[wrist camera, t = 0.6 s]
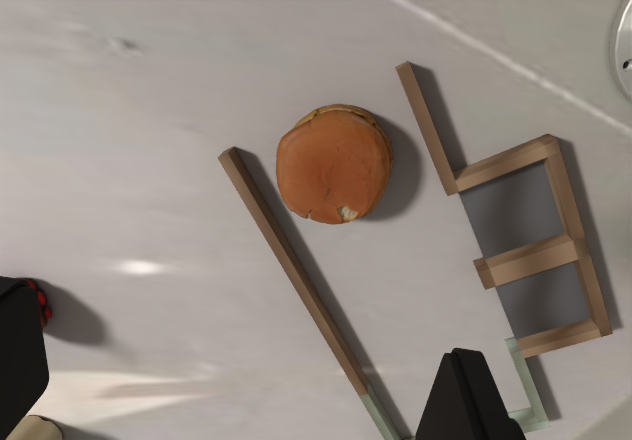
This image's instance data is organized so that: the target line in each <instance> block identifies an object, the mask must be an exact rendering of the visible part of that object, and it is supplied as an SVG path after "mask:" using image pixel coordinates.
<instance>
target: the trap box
mask: <svg viewBox="0 0 632 440" xmlns="http://www.w3.org/2000/svg"><path fill="white" fill-rule="evenodd" d="M395 68H396V70H397V73H398V75H399V78H400V80H401V83H402V85H403V88H404V90H405V93H406V95H407V98H408V100H409V103H410V105H411V108H412V110H413V113H414V115H415V118H416V120H417V123H418V125H419V128H420V130H421V133H422V135H423V138H424V140H425V143H426V145H427V148H428V150H429V153H430V155H431V158H432V160H433V162H434V165H435V167H436V170H437V172H438V175H439V177H440V180H441V182H442V185H443V187H444V190H445V192H446V194H447V196H449V195H452V194H455V193H457V192H458V193H459V195H460V198H461V200H462V203H463V205H464V208H465V211H466V213H467V216H468V218H469V221H470V223H471V226H472V228H473V231H474V234H475V236H476V239H477V241H478V244H479V246H480V249H481V252H482V254H483V258H480V259H477V260H474V261H473V262H474V265H475V267H476V270H477V272H478V275H479V277H480V279H481V282H482V284H483V286H484V288H485V290H486V289H489V288H492V287H495V288H496V290H497V293H498V295H499V298H500V300H501V303H502V306H503V308H504V311H505V313H506V316H507V318H508V321H509V324H510V326H511V329H512V331H513V334H514V336H515V337H513V338H510V339H506V340H505V342H506V344H507V347H508V349H509V352H510V354H511V357H512V359H513V362H514V364H515V367H516V369H517V372H518V374H519V377H520V379H521V382H522V384H523V387H524V389H525V392H526V394H527V397H528V399H529V402H530V404H531V408H527V409H523V410H519V411H515V412H511V413H508V415H509V418H513V419H515V420H516V421H517V422H518V424H519V425H520V427H521V429H522V431H523V433H527V432H531V431H536V430H540V429H544V428H549V427H551V426H550V423H549V421H548V418H547V416H546V413H545V410H544V408H543V405H542V403H541V400H540V398H539V395H538V392H537V390H536V387H535V385H534V382H533V379H532V377H531V374H530V372H529V369H528V367H527V364H526V361H525V359H524V358H527V357H531V356H534V355H538V354H541V353H545V352H549V351H552V350H556V349H560V348H563V347H567V346H570V345H574V344H578V343H581V342H585V341H588V340H592V339H596V338H599V337H603V336H606V335H610V334H613V333H612V329H611V326H610V322H609V319H608V315H607V312H606V308H605V305H604V301H603V298H602V294H601V291H600V287H599V283H598V280H597V276H596V273H595V269H594V266H593V262H592V259H591V255H590V252H589V248H588V245H587V241H586V238H585V234H584V231H583V227H582V224H581V220H580V217H579V213H578V209H577V206H576V202H575V199H574V195H573V192H572V188H571V185H570V181H569V178H568V174H567V171H566V167H565V164H564V160H563V157H562V153H561V150H560V146H559V143H558V140H557V139H555V138H554V137H552V136H551V135H549V134H546V135H543V136H541V137H538V138H536V139H533V140H531V141H529V142H526V143H524V144H521V145H519V146H516V147H514V148H511V149H509V150H506V151H504V152H501V153H499V154H497V155H494V156H492V157H489V158H487V159H484V160H482V161H479V162H477V163H474V164H472V165H470V166H467V167H465V168H462V169H460V170H457V171H455V172H452V171H451V168H450V166H449V163H448V160H447V158H446V155H445V153H444V150H443V148H442V145H441V142H440V140H439V137H438V135H437V132H436V130H435V127H434V124H433V122H432V119H431V117H430V114H429V112H428V109H427V106H426V104H425V101H424V99H423V96H422V93H421V91H420V88H419V86H418V83H417V81H416V78H415V75H414V73H413V70H412V68H411V65H410V63H409V62H408V61H407V62H405V63H403V64H401V65H399V66H397V67H395ZM218 159H219V161H220V163H221V164H222V166H223V168H224V170H225V171H226V173H227V175H228V176H229V178H230V180H231V181H232V183H233V185H234V186H235V188H236V190H237V191H238V193H239V195H240V197H241V198H242V200H243V202H244V203H245V205H246V207H247V208H248V210H249V212H250V213H251V215H252V217H253V218H254V220H255V222H256V223H257V225H258V227H259V229H260V230H261V232H262V234H263V235H264V237H265V239H266V240H267V242H268V244H269V245H270V247H271V249H272V250H273V252H274V254H275V256H276V257H277V259H278V261H279V262H280V264H281V266H282V267H283V269H284V271H285V272H286V274H287V276H288V277H289V279H290V281H291V282H292V284H293V286H294V288H295V289H296V291H297V293H298V294H299V296H300V298H301V299H302V301H303V303H304V304H305V306H306V308H307V309H308V311H309V313H310V315H311V316H312V318H313V320H314V321H315V323H316V325H317V326H318V328H319V330H320V331H321V333H322V335H323V336H324V338H325V340H326V341H327V343H328V345H329V347H330V348H331V350H332V352H333V353H334V355H335V357H336V358H337V360H338V362H339V363H340V365H341V367H342V368H343V370H344V372H345V374H346V375H347V377H348V379H349V380H350V382H351V384H352V385H353V387H354V389H355V390H356V392H357V394H358V395H359V397H360V399H361V401H362V402H363V404H364V406H365V407H366V409H367V411H368V412H369V414H370V416H371V417H372V419H373V421H374V422H375V424H376V426H377V427H378V429H379V431H380V433H381V434H382V436H383V438H384V439H385V440H415V436H414V437H410V438H406V439H401V437H400V436H399V434H398V432H397V430H396V429H395V427H394V425H393V423H392V422H391V420H390V418H389V416H388V415H387V413H386V411H385V409H384V408H383V406H382V404H381V402H380V401H379V399H378V397H377V395H376V394H375V392H374V390H373V388H372V387H371V385H370V383H369V381H368V380H367V378H366V376H365V374H364V373H363V371H362V369H361V368H360V366H359V364H358V362H357V361H356V359H355V357H354V355H353V354H352V352H351V350H350V348H349V347H348V345H347V343H346V341H345V340H344V338H343V336H342V334H341V333H340V331H339V329H338V327H337V326H336V324H335V322H334V320H333V319H332V317H331V315H330V313H329V312H328V310H327V308H326V306H325V305H324V303H323V301H322V299H321V298H320V296H319V294H318V292H317V291H316V289H315V287H314V285H313V284H312V282H311V280H310V278H309V277H308V275H307V273H306V271H305V270H304V268H303V266H302V264H301V263H300V261H299V259H298V258H297V256H296V254H295V252H294V251H293V249H292V247H291V245H290V244H289V242H288V240H287V238H286V237H285V235H284V233H283V231H282V230H281V228H280V226H279V224H278V223H277V221H276V219H275V217H274V216H273V214H272V212H271V210H270V209H269V207H268V205H267V203H266V202H265V200H264V198H263V196H262V195H261V193H260V191H259V189H258V188H257V186H256V184H255V182H254V181H253V179H252V177H251V175H250V174H249V172H248V170H247V168H246V167H245V165H244V163H243V161H242V160H241V158H240V156H239V154H238V153H237V151H236V149H235V148H234V147H232V148H230V149H228V150H226V151H224V152H223V153H222V154H221V155H220V156H219V157H218Z"/></svg>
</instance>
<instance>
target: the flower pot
mask: <svg viewBox="0 0 632 440" xmlns="http://www.w3.org/2000/svg"><path fill="white" fill-rule="evenodd" d="M62 439H63V437H62V433H61V431H60V430H59V429H58V427H57V426H56V425H55V424H53V423H52V422H51V421H44V420H42V419H41V418H40V417H38V416H25V417H24V418H23V419H22V420H21V421H20V422H19V424H18V425H17V426H16V427H15V429H14V430H13V431H12V432H11V434H10V435H9V436H8V437H7V439H6V440H62Z"/></svg>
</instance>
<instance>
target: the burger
mask: <svg viewBox="0 0 632 440" xmlns="http://www.w3.org/2000/svg"><path fill="white" fill-rule="evenodd" d="M392 152H393V151H392V148H391V141H389V138H388V137H387V135H386V134H385V133H384V131H383V130H382V129H381V128H380V127H379V126H378V125H377V123H376V121H375V119H374V118H373V117H372V116H371V115H370V114H369V113H368V112H366V111H364V110H362V109H360V108H357V107H355V106H351V105H343V104H333V105H329V106H324V107H321V108H318V109H316V110H314V111H312V112H311V113H309V114H308V115H307V116H305V117H304V118H302V119H301V120H300V121H299V122H298V123H297V124H296V125H295V127H294V128H293V129H292V130H291V131H289V132H288V133H287V134H286V135H284V136H283V137H282V138H281V140H280V143H279V145H278V148H277V161H276V175H277V184H278V187H279V190H280V193H281V196H282V198H283V200H284V202H285V204H286V205H287V207H288V208H289V209H290V210H291V211H293V212H295V213H296V214H298V215H299V216H301V217H303V218H306V219H307V218H310V219H312V220H315V221H318V222H322V223H327V224H342V223H346V222H350V221H351V220H354V219H357V218H361V217H363V216H365V215H366V214H368V213H369V212H371V211H372V210H373V209H374V208H375V206H376V205H377V204H378V202H379V200H380V199H381V197H382V195H383V193H384V191H385V189H386V186H387V183H388V179H389V177H390V174H391V171H392V168H393V155H392Z"/></svg>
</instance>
